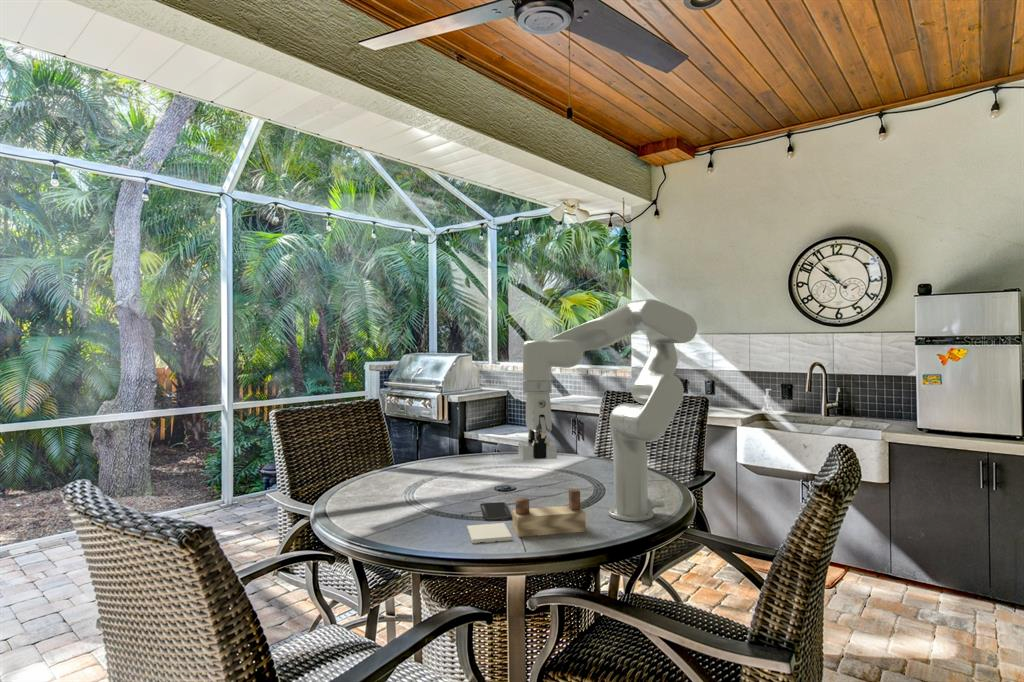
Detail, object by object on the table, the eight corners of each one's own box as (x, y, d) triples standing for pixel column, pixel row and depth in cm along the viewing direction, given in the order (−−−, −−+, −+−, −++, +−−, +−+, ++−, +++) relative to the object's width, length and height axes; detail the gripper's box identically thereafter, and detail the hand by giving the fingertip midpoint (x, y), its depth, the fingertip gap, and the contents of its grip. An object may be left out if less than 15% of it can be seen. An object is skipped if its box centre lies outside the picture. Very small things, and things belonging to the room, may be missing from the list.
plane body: (577, 523, 157) (576, 486, 157) (585, 531, 151) (585, 493, 151) (512, 528, 154) (512, 490, 154) (518, 537, 147) (517, 497, 147)
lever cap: (551, 454, 155) (551, 438, 155) (556, 458, 150) (556, 441, 150) (518, 456, 153) (518, 439, 153) (522, 460, 148) (522, 442, 148)
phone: (484, 518, 161) (479, 503, 176) (484, 522, 161) (479, 507, 176) (512, 516, 162) (505, 501, 177) (512, 520, 162) (505, 505, 177)
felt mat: (503, 526, 156) (503, 522, 156) (511, 540, 145) (511, 536, 145) (467, 529, 154) (466, 525, 154) (472, 543, 143) (472, 539, 143)
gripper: (560, 389, 144) (560, 462, 144) (542, 384, 161) (542, 449, 161) (530, 389, 143) (530, 463, 142) (516, 385, 159) (516, 450, 159)
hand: (537, 455), depth 152 cm, fingers closed on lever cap, 5 cm apart
